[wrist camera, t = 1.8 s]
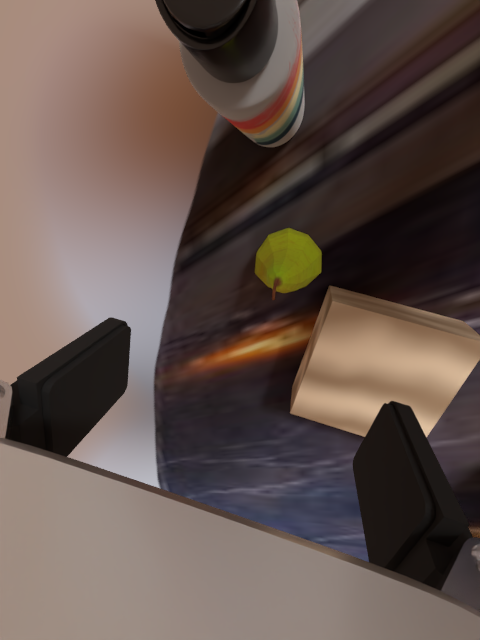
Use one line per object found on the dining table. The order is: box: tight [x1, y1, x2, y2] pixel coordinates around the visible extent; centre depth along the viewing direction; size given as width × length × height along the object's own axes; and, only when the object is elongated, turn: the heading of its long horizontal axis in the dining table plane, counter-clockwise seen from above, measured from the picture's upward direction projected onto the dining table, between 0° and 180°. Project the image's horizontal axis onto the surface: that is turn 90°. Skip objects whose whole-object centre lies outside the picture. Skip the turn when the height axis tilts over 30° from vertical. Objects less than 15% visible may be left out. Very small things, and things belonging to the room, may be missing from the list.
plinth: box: [290, 285, 480, 437], centre depth 32 cm, size 14×14×5 cm
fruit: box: [255, 228, 322, 300], centre depth 26 cm, size 6×6×12 cm
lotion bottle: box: [155, 0, 305, 147], centre depth 18 cm, size 6×6×20 cm
